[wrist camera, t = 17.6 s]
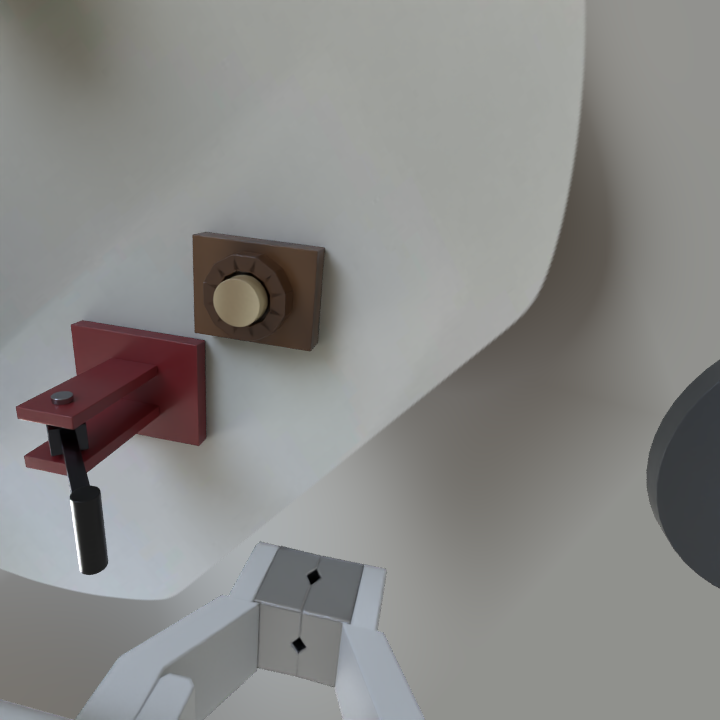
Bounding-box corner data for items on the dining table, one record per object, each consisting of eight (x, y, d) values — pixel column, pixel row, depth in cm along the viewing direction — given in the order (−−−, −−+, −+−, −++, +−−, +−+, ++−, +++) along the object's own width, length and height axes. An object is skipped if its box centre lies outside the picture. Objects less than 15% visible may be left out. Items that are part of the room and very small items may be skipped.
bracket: (205, 339, 42) (120, 393, 32) (206, 438, 46) (130, 517, 35) (82, 320, 44) (-40, 364, 33) (92, 416, 48) (-14, 485, 37)
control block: (325, 247, 38) (311, 254, 34) (317, 343, 41) (304, 359, 37) (205, 231, 39) (180, 236, 35) (207, 325, 42) (183, 339, 38)
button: (269, 277, 36) (260, 282, 34) (267, 324, 37) (259, 330, 35) (223, 271, 36) (212, 275, 34) (223, 317, 37) (213, 323, 36)
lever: (112, 494, 26) (60, 507, 25) (119, 566, 28) (71, 582, 26) (79, 390, 37) (41, 396, 35) (86, 447, 38) (50, 454, 37)
